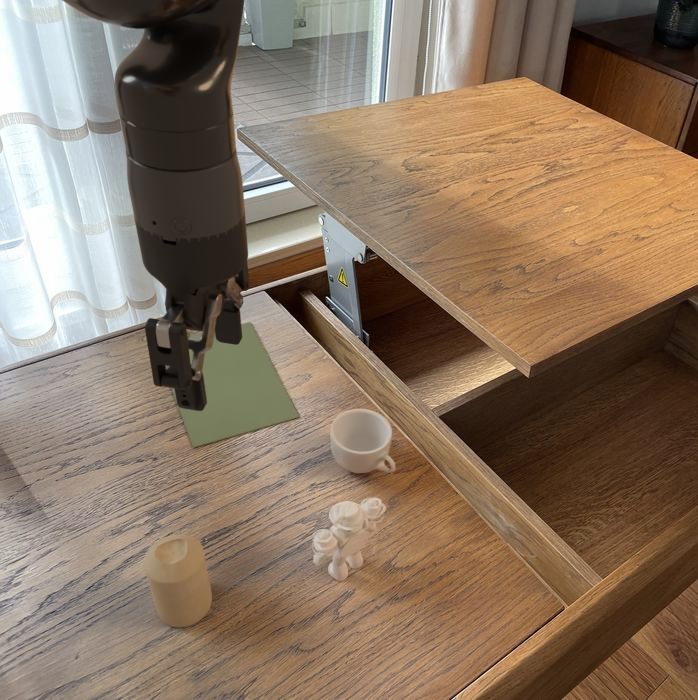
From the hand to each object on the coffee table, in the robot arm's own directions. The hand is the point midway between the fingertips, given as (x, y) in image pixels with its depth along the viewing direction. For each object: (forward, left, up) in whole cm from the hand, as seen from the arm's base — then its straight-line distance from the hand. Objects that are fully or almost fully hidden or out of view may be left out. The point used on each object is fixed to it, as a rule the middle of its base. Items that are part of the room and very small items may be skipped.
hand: (212, 372), depth 62 cm
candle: (-6, -3, -29) cm, 30 cm away
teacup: (+19, +7, -29) cm, 35 cm away
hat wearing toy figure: (+11, -6, -29) cm, 31 cm away
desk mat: (+7, +29, -29) cm, 41 cm away
